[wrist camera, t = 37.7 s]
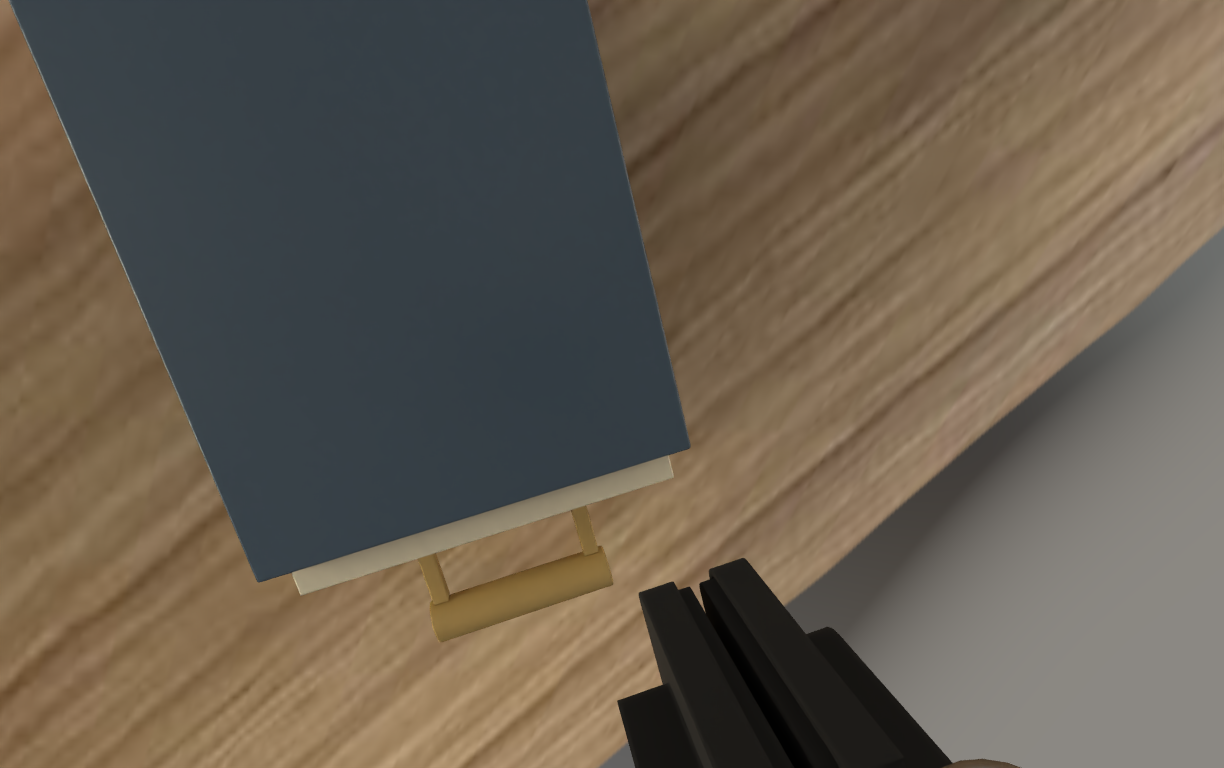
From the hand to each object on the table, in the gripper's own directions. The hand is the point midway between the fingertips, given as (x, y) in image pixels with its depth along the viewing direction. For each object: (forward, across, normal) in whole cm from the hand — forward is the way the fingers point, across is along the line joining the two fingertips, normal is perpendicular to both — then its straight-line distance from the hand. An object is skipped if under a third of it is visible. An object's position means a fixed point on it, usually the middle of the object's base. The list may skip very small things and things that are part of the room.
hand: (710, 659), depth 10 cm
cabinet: (+21, +4, -7) cm, 23 cm away
